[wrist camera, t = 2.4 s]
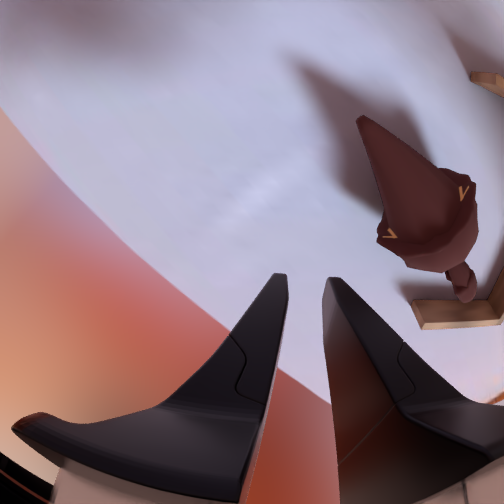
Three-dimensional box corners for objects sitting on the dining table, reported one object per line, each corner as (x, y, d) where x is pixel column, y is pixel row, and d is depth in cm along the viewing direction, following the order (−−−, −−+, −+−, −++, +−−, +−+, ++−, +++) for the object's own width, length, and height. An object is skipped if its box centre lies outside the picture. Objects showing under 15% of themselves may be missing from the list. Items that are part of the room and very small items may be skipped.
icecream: (301, 194, 12) (429, 332, 18) (443, 97, 8) (514, 292, 14) (306, 134, 17) (415, 263, 23) (397, 66, 13) (484, 226, 18)
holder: (549, 118, 12) (571, 126, 10) (488, 305, 23) (500, 324, 20) (471, 71, 13) (496, 73, 10) (410, 306, 23) (421, 329, 21)
